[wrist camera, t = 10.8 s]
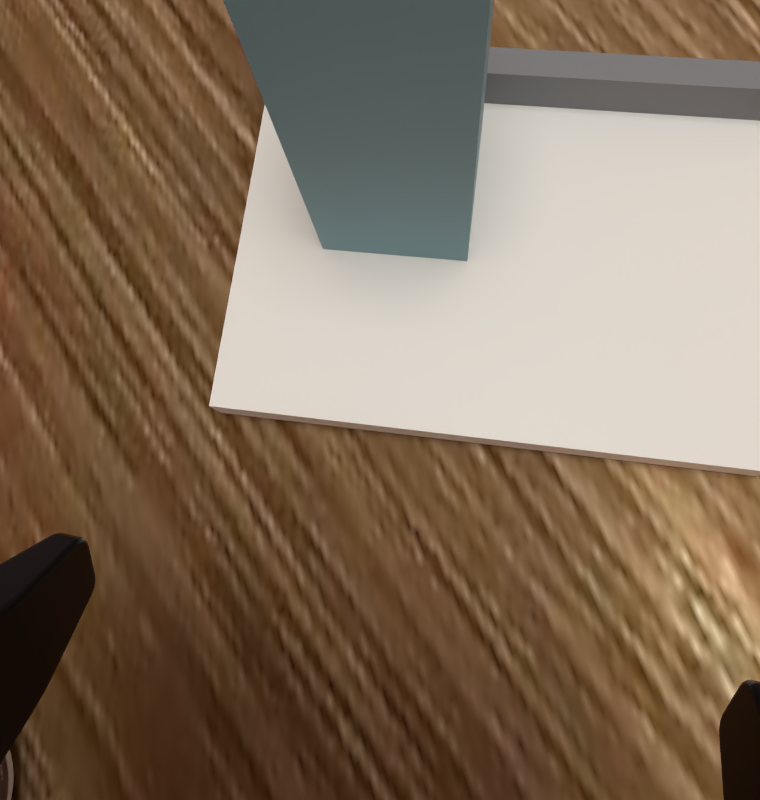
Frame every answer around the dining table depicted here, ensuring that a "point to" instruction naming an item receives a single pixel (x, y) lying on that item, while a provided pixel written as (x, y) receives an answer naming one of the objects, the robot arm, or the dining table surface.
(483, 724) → the dining table surface
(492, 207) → the white base plate
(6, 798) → the supplement bottle
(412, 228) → the carton
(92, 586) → the robot arm
